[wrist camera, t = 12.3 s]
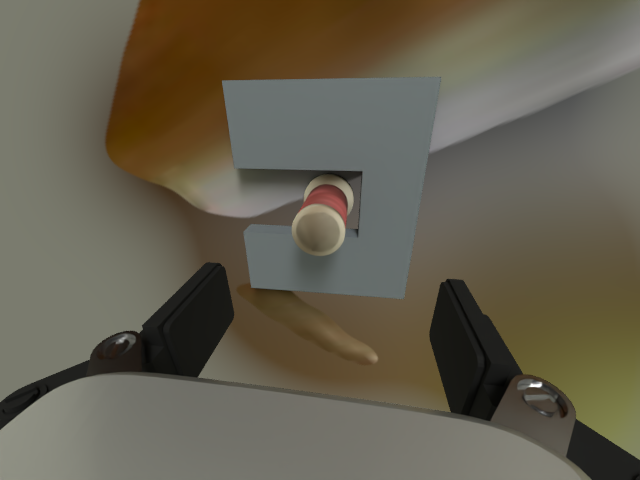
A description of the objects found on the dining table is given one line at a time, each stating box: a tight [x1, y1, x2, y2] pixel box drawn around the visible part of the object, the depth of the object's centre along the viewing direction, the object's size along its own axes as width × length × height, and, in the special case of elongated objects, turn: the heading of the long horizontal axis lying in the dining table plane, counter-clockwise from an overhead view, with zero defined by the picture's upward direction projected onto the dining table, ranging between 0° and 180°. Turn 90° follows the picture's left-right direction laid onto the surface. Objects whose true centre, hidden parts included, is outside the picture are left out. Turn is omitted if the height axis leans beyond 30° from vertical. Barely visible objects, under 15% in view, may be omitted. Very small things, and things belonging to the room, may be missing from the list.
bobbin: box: [292, 174, 354, 256], centre depth 27 cm, size 6×6×10 cm
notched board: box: [222, 77, 441, 299], centre depth 30 cm, size 20×24×2 cm
